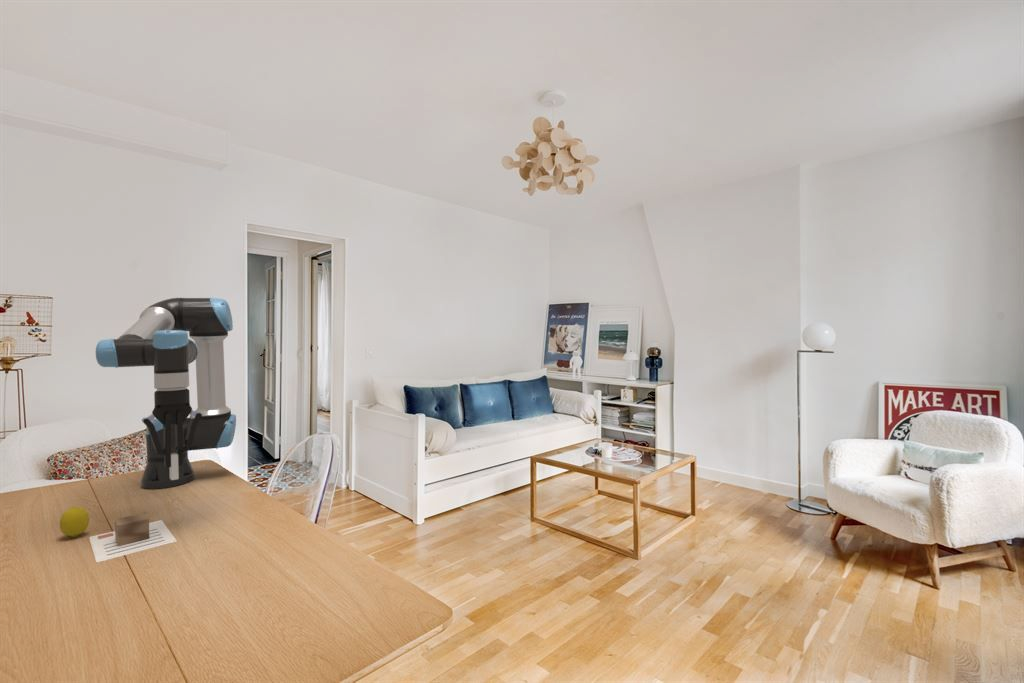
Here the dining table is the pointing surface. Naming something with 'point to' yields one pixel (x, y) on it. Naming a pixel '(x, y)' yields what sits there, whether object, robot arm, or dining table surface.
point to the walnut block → (131, 529)
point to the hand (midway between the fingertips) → (174, 478)
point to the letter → (109, 548)
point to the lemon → (74, 521)
